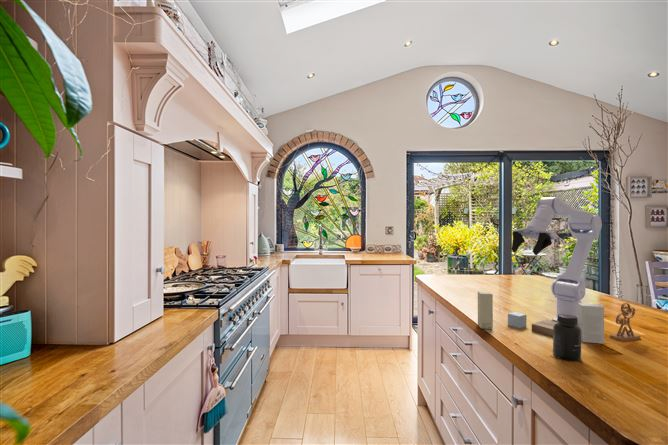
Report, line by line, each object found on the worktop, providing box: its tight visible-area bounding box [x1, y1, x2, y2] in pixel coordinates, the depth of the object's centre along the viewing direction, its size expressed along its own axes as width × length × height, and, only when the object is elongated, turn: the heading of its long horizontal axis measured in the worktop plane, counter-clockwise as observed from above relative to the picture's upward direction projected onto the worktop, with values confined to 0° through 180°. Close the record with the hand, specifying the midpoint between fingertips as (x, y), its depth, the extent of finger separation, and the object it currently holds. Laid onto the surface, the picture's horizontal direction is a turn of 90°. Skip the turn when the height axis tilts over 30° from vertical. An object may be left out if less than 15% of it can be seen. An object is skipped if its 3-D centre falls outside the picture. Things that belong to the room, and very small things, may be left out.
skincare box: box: [577, 302, 605, 345], centre depth 111 cm, size 6×4×12 cm
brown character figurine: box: [609, 302, 641, 342], centre depth 113 cm, size 9×4×12 cm, turn 105°
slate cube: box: [507, 311, 528, 329], centre depth 126 cm, size 4×4×4 cm
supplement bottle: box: [552, 314, 582, 362], centre depth 98 cm, size 7×7×12 cm
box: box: [477, 290, 494, 330], centre depth 124 cm, size 5×4×13 cm
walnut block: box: [531, 319, 558, 338], centre depth 119 cm, size 10×10×3 cm
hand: (523, 252), depth 118 cm, fingers open, 7 cm apart
